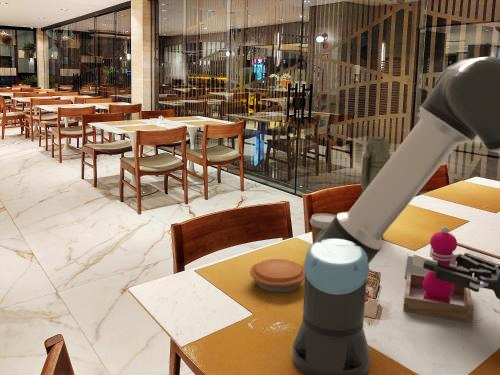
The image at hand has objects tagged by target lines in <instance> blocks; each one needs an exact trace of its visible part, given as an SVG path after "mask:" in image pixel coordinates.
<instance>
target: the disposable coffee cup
mask: <svg viewBox="0 0 500 375" xmlns="http://www.w3.org/2000/svg"><path fill="white" fill-rule="evenodd" d="M335 217H336V215H335V214H331V213H315V214H312V215H311V218H310V220H309V223H310V226H311V238H312V245H313V244H314V241H315V239H316V237H317V235H318V234H319V233H320V231H321V230H323V229H324V228H325V227H326V226H328V225H329V224H330V223H331V222H332V221H333V219H334V218H335Z"/></svg>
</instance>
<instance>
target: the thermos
mask: <svg viewBox="0 0 500 375" xmlns="http://www.w3.org/2000/svg"><path fill="white" fill-rule="evenodd" d="M390 158H391V152H390V144H389V139H388V138H386V137H385V136H371V137H369V138H368V140H367V142H366V144H365V153H364V154H363V156H362V165H361V166H362V167H361V178H360V179H361V180H360V183H361V184H360V186H361V187H360V189H361V191H362V192H361V195H362V194H363V192H364V191H365V190H366V188H367V187H368V186H369V185H370V183H371V182H372V181H373V179H374V178H375V177H376V176H377V174H378V173H379V172H380V170H381V169H382V168H383V167H384V165H385V164H386V163H387V161H388V160H389V159H390ZM381 240H382V241H383V240H384V234H383V235H382V237H381Z"/></svg>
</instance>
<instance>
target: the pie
mask: <svg viewBox="0 0 500 375" xmlns="http://www.w3.org/2000/svg"><path fill="white" fill-rule="evenodd" d="M249 274H250V276H251V277H252V278H253V279H254V281H255V283H256V284H257V285H258V287H260V289H262V290H264V291H267V292H270V293H276V294H280V293H281V294H283V293H289V292H293V291H295V290H297V289H298V288H299V286H300V285H301V283H302V282H303V281H305V270H304V265H301V264H300V263H297V262H294V261H293V260H289V259H285V258H284V259H283V258H272V259H265V260H261V261H260V262H257V263H254V264H253V265H252V266H251V268H250V270H249Z"/></svg>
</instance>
